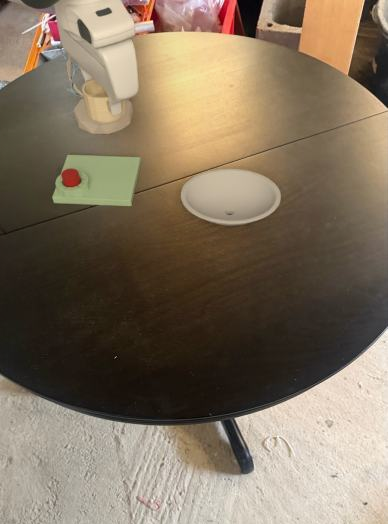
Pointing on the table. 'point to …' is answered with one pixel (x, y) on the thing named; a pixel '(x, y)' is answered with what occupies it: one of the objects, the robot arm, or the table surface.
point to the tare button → (70, 177)
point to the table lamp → (80, 109)
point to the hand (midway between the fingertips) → (104, 101)
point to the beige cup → (98, 103)
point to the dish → (230, 196)
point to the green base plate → (100, 180)
